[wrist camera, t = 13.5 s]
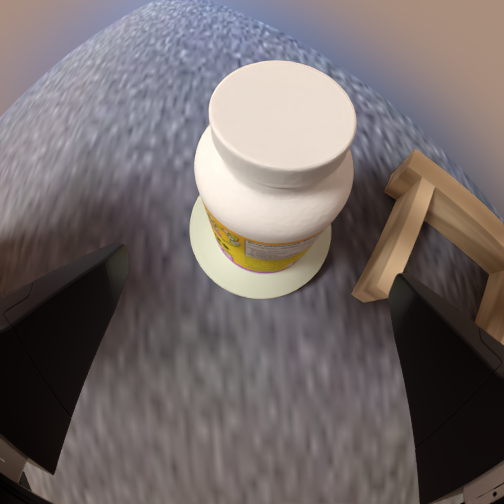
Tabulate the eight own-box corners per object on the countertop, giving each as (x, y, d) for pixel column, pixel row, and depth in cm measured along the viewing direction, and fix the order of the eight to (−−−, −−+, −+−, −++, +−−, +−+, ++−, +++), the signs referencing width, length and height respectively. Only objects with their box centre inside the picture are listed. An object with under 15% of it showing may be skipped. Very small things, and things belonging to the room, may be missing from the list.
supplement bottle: (214, 186, 22) (186, 46, 9) (305, 184, 22) (358, 50, 9) (216, 278, 20) (168, 206, 8) (314, 274, 20) (408, 202, 8)
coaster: (219, 320, 20) (217, 320, 19) (175, 194, 22) (173, 188, 21) (348, 268, 21) (353, 266, 20) (295, 154, 23) (297, 148, 22)
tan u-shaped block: (472, 374, 19) (505, 378, 15) (336, 285, 21) (358, 275, 17) (506, 270, 22) (537, 260, 17) (391, 174, 23) (415, 148, 19)
